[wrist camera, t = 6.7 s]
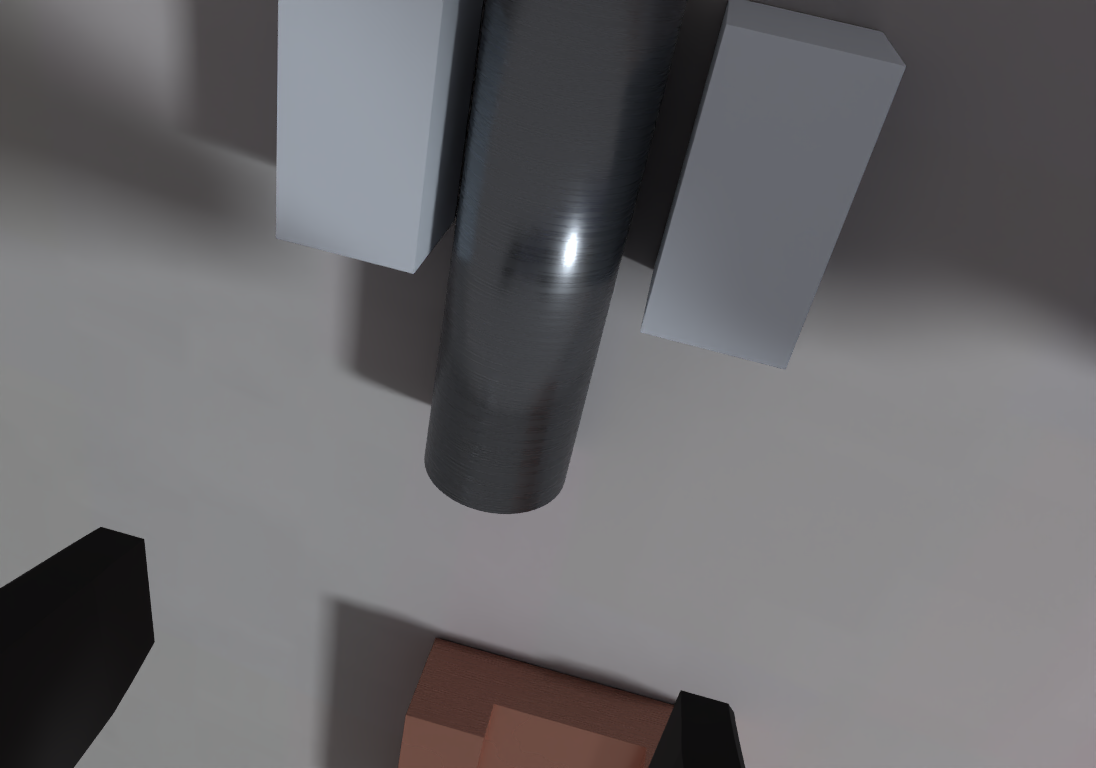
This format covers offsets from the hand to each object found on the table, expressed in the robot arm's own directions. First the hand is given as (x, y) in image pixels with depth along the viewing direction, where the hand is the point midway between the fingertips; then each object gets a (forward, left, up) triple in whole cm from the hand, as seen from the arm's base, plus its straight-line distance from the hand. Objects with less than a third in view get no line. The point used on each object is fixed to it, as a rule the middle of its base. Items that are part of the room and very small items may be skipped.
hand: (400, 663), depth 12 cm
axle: (0, -3, -8) cm, 9 cm away
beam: (0, -5, -8) cm, 10 cm away
